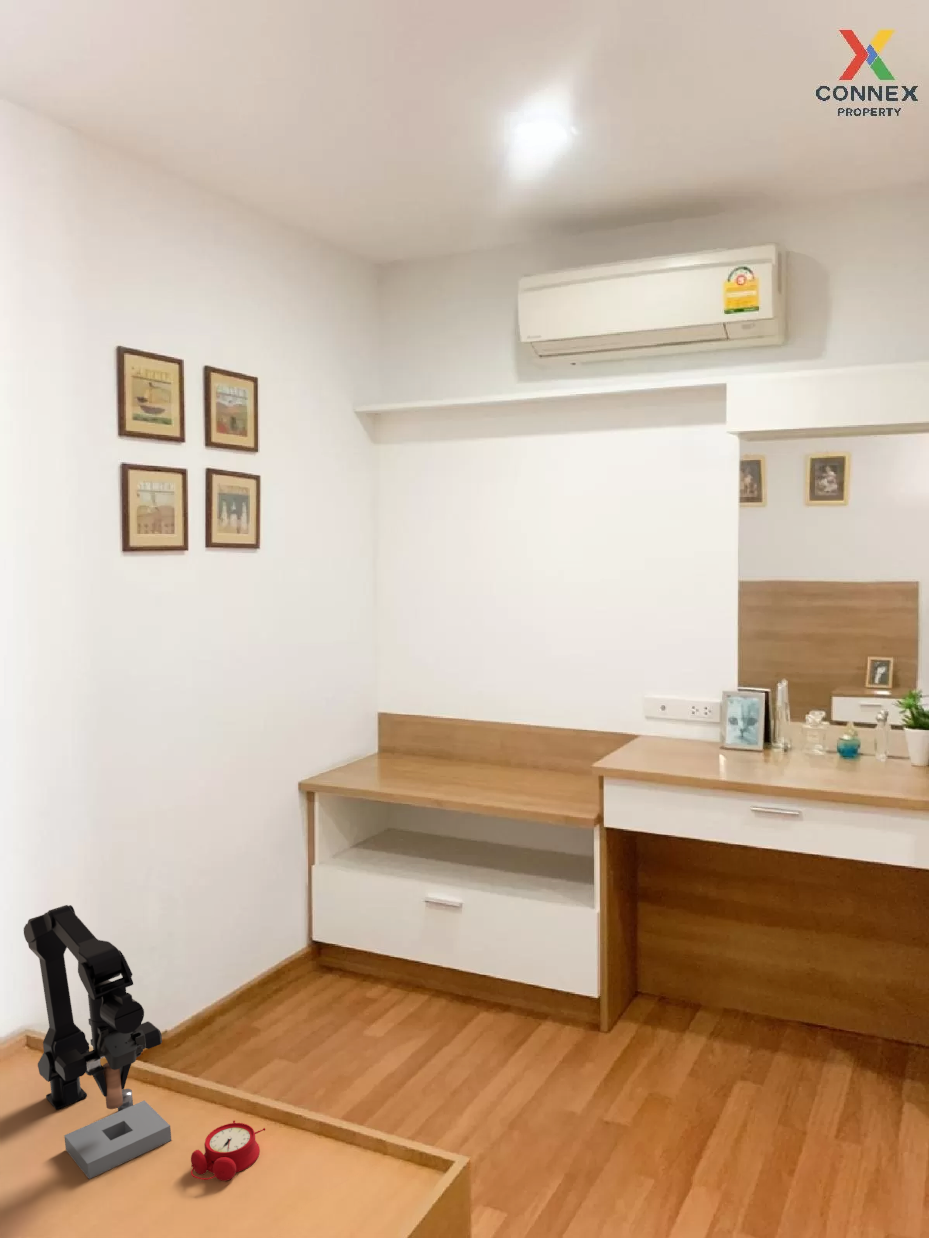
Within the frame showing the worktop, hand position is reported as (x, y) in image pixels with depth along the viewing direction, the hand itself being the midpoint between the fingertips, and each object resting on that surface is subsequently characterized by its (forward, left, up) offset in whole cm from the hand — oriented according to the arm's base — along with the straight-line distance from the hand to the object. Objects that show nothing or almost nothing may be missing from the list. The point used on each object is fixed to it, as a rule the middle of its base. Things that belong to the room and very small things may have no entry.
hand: (113, 1091), depth 193 cm
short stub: (-10, +6, -11) cm, 16 cm away
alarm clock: (+20, +12, -11) cm, 26 cm away
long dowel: (0, 0, -2) cm, 2 cm away
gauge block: (0, 0, -11) cm, 11 cm away
